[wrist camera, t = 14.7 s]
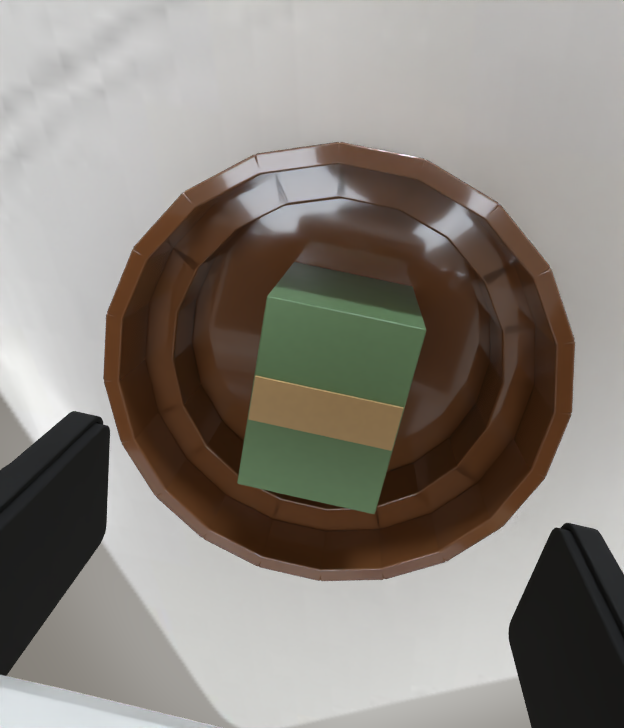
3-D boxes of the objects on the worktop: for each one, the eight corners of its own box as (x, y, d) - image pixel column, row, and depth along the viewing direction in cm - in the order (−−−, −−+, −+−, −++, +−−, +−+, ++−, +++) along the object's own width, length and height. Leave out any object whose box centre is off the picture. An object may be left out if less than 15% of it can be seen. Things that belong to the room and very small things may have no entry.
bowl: (587, 194, 20) (658, 205, 15) (465, 531, 26) (487, 620, 21) (178, 112, 21) (115, 96, 16) (148, 460, 27) (96, 530, 22)
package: (413, 286, 22) (427, 330, 16) (374, 434, 24) (374, 517, 19) (293, 261, 22) (266, 296, 16) (267, 410, 24) (235, 486, 19)
